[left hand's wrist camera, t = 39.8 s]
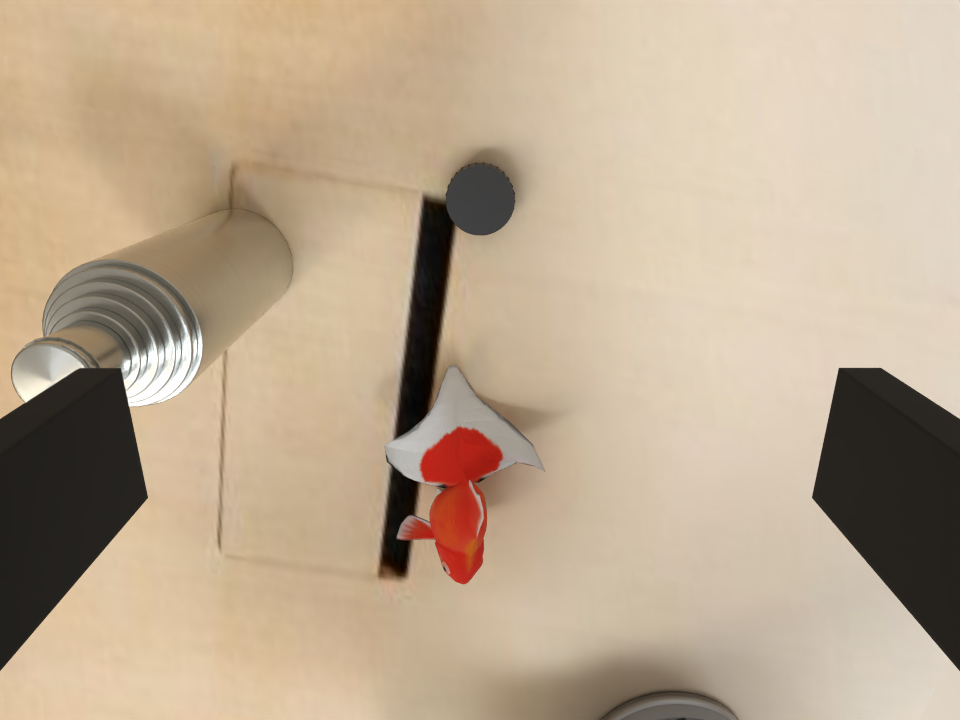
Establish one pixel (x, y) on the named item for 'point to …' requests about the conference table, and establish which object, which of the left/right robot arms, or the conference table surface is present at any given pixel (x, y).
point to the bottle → (159, 307)
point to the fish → (457, 470)
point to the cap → (480, 199)
